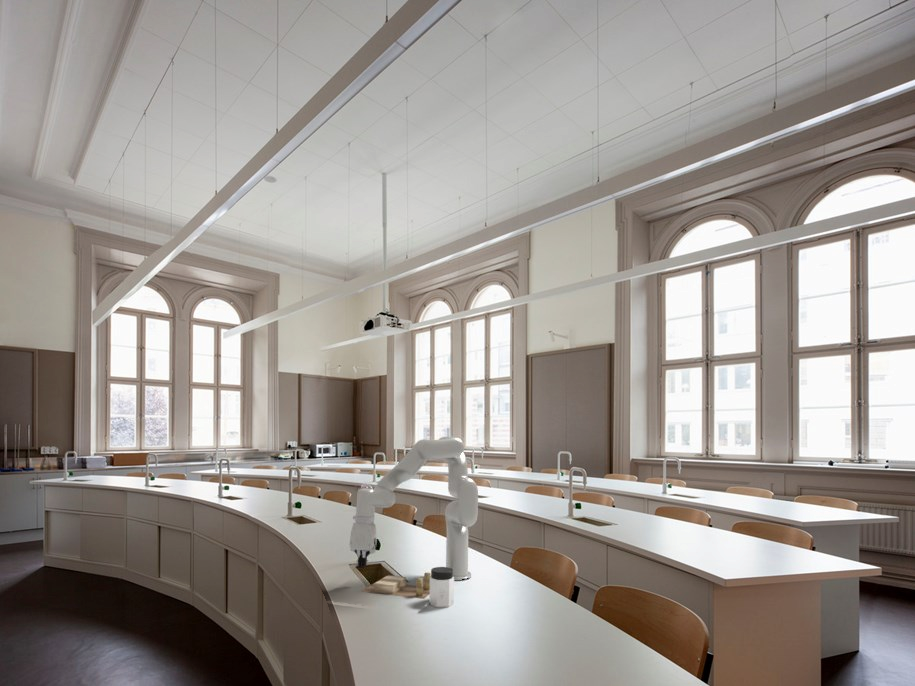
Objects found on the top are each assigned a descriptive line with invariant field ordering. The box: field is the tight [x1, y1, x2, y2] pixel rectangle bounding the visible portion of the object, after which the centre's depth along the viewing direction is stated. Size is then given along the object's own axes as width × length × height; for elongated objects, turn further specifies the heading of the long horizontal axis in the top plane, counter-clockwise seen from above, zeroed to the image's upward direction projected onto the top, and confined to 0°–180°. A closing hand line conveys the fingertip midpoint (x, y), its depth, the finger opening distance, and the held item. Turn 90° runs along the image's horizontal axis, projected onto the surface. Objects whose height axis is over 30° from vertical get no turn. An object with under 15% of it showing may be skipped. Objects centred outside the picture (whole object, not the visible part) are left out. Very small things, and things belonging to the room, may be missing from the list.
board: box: [361, 572, 431, 600], centre depth 215 cm, size 14×26×7 cm, turn 72°
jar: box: [428, 566, 455, 608], centre depth 202 cm, size 9×8×12 cm
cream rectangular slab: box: [373, 575, 407, 595], centre depth 216 cm, size 12×8×3 cm, turn 162°
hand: (361, 567), depth 220 cm, fingers closed
